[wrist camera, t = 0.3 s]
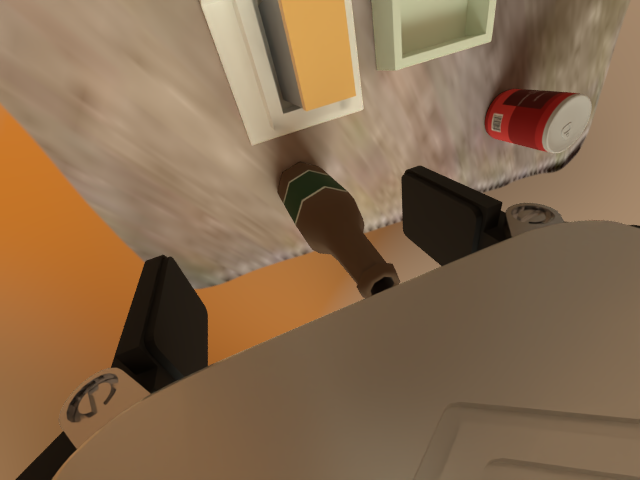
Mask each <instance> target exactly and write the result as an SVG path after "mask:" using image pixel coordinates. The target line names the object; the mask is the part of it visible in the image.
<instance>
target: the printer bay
mask: <svg viewBox="0 0 640 480" xmlns="http://www.w3.org/2000/svg"><path fill="white" fill-rule="evenodd" d="M262 1H263V0H199V2H200V5H201V8H202V10H203V13H204V16H205V19H206V21H207V24H208V27H209V30H210V32H211V35H212V38H213V41H214V43H215V46H216V49H217V52H218V54H219V57H220V60H221V63H222V66H223V68H224V71H225V74H226V77H227V79H228V82H229V85H230V88H231V90H232V93H233V96H234V99H235V101H236V104H237V107H238V110H239V112H240V115H241V118H242V121H243V123H244V126H245V129H246V132H247V134H248V137H249V140H250V143H251V145H255V144H258V143H261V142H264V141H268V140H271V139H274V138H277V137H280V136H283V135H286V134H289V133H292V132H295V131H299V130H302V129H305V128H308V127H311V126H314V125H317V124H320V123H323V122H326V121H329V120H333V119H336V118H339V117H342V116H345V115H348V114H351V113H354V112H357V111H360V110H364V109H363V100H362V91H361V82H360V73H359V64H358V55H357V46H356V37H355V29H354V20H353V11H352V2H351V0H344V2H345V10H346V18H347V26H348V34H349V42H350V50H351V58H352V66H353V74H354V83H355V91H356V96H354V97H351V98H348V99H345V100H341V101H338V102H335V103H332V104H329V105H325V106H322V107H319V108H316V109H313V110H309V111H304V110H303V108H301V107H299V106H297V105H294V104H292V103H290V102H287V101H285V100H283V97H282V93H281V90H280V86H279V82H278V78H277V75H276V71H275V67H274V64H273V60H272V56H271V52H270V49H269V45H268V41H267V37H266V34H265V30H264V26H263V22H262V19H261V15H260V11H259V7H258V5H259V4H260V3H261V2H262Z"/></svg>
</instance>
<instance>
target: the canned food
mask: <svg viewBox="0 0 640 480" xmlns="http://www.w3.org/2000/svg"><path fill="white" fill-rule="evenodd" d="M591 107H592V105H591V100H590V98H589V97H588V96H587V95H584V94H580V93H568V92H554V91H539V90H524V89H511V90H507V91H504V92H502V93H501V94H500V95H498V96H497V97H496V98H495V99H494V101H493V102H492V103H491V105H490V107H489V109H488V111H487V114H486V118H485V128H486V131H487V133H488V134H489V135H490V136H491V137H493V138H495V139H498V140H502V141H506V142H510V143H514V144H518V145H522V146H526V147H529V148H533V149H537V150H541V151H546V152H550V153H559V152H562V151H564V150H566V149H567V148H569V147H570V146H571V145H572V144H573V143H574V142H575V141H576V140H577V139H578V138H579V136H580V135H581V134H582V132H583V130H584V129H585V127H586V125H587V123H588V120H589V117H590V114H591Z"/></svg>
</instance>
